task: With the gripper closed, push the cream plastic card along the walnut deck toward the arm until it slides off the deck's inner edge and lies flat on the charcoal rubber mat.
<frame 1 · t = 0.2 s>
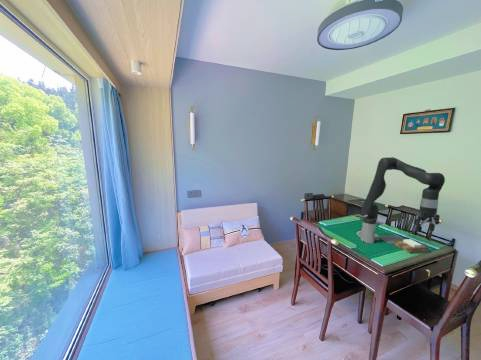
hand: (425, 231, 117), 29 cm above the table, fingers open, 8 cm apart
mat: (393, 239, 167), on the table
deck: (410, 248, 151), on the table
card: (412, 244, 150), point 4 cm above the table, touching deck
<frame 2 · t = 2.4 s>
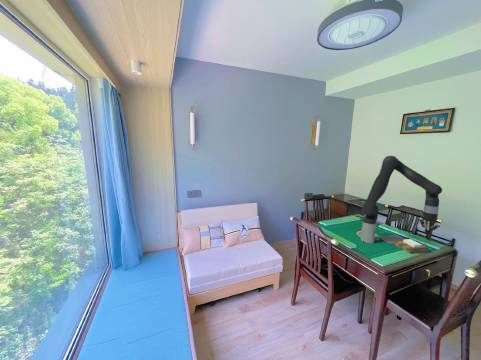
hand: (427, 234, 138), 17 cm above the table, fingers closed
nothing on the table moved.
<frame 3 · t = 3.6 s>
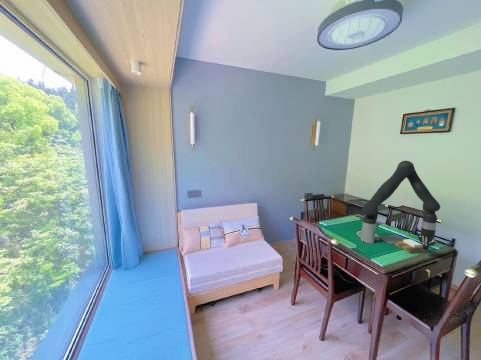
hand: (425, 249, 140), 5 cm above the table, fingers closed
nothing on the table moved.
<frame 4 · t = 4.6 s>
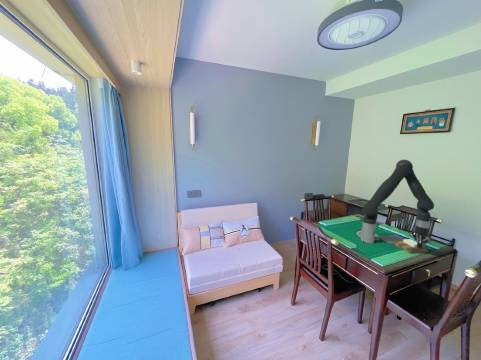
hand: (419, 247, 144), 5 cm above the table, fingers closed
card: (411, 244, 150), point 4 cm above the table, touching gripper
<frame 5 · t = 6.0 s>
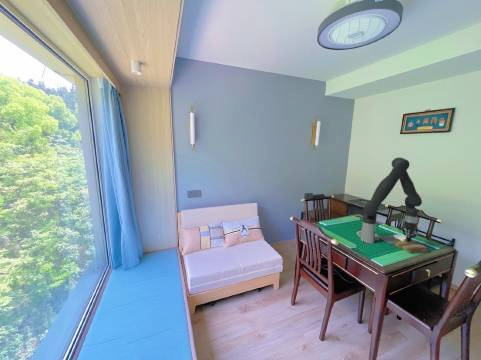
hand: (408, 241, 153), 5 cm above the table, fingers closed
card: (401, 239, 159), point 4 cm above the table, touching deck, gripper
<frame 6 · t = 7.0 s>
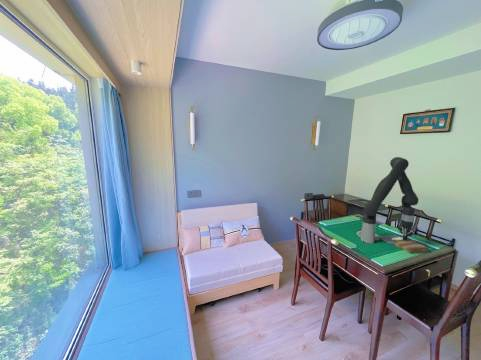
hand: (404, 239, 156), 5 cm above the table, fingers closed
card: (399, 239, 161), point 2 cm above the table, tilted 29°, touching gripper
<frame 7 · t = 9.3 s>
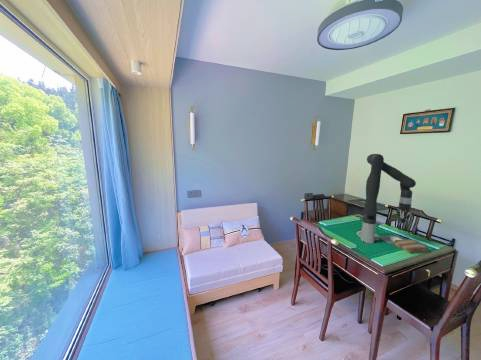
hand: (402, 222, 158), 18 cm above the table, fingers closed
card: (397, 241, 163), resting on mat
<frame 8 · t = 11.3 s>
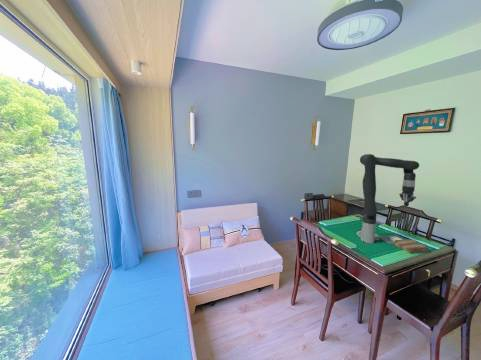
hand: (406, 206, 156), 32 cm above the table, fingers closed
nothing on the table moved.
at the end: card resting on mat; card inside the target area on the mat (3.9 cm from its centre), point 0.3 cm above the mat's base; card touching mat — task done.
